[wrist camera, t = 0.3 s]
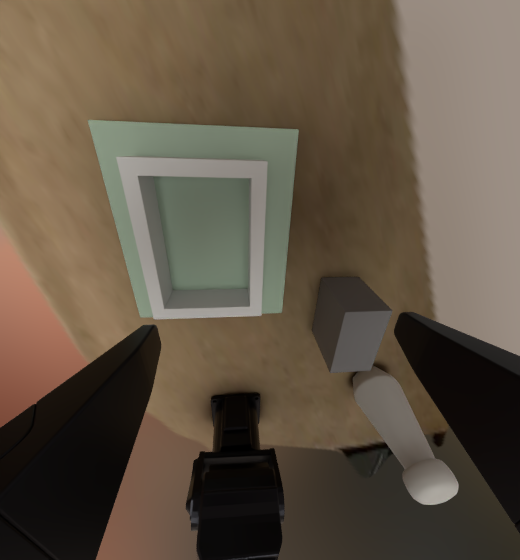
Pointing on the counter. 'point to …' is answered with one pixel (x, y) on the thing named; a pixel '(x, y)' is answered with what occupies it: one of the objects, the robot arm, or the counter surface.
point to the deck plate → (200, 214)
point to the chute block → (349, 323)
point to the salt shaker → (403, 436)
